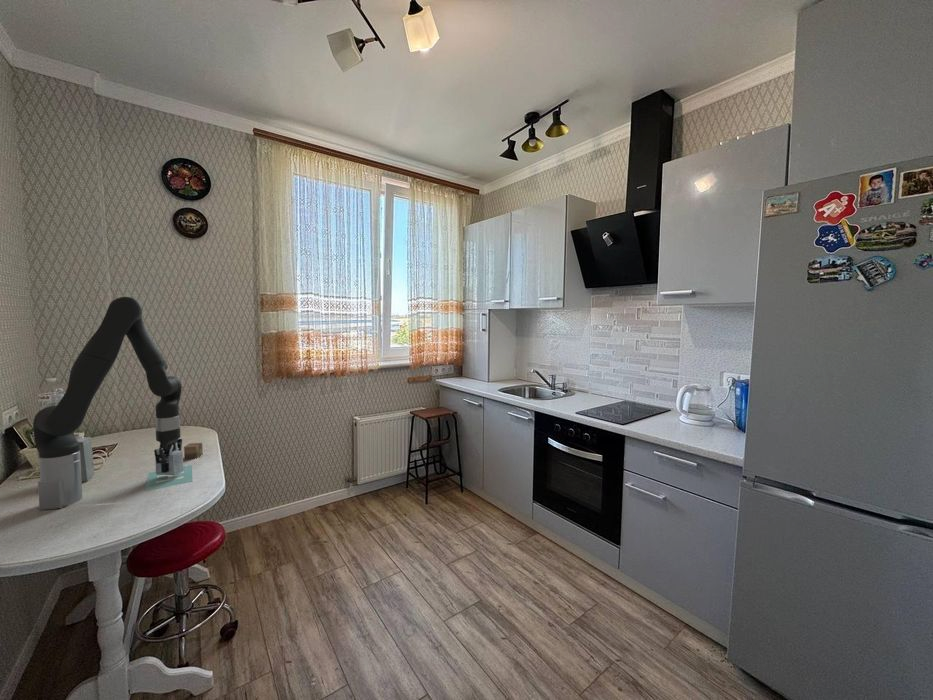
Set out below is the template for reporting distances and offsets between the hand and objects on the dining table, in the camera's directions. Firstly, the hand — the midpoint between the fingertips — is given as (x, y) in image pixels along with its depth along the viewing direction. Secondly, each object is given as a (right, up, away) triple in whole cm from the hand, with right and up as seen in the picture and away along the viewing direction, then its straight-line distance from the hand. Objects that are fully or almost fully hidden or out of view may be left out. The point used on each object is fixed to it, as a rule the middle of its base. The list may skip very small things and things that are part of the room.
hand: (169, 469), depth 144 cm
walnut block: (-7, -2, +22) cm, 23 cm away
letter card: (0, -4, 0) cm, 4 cm away
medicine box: (0, -2, 0) cm, 2 cm away
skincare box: (-33, -3, -3) cm, 33 cm away
